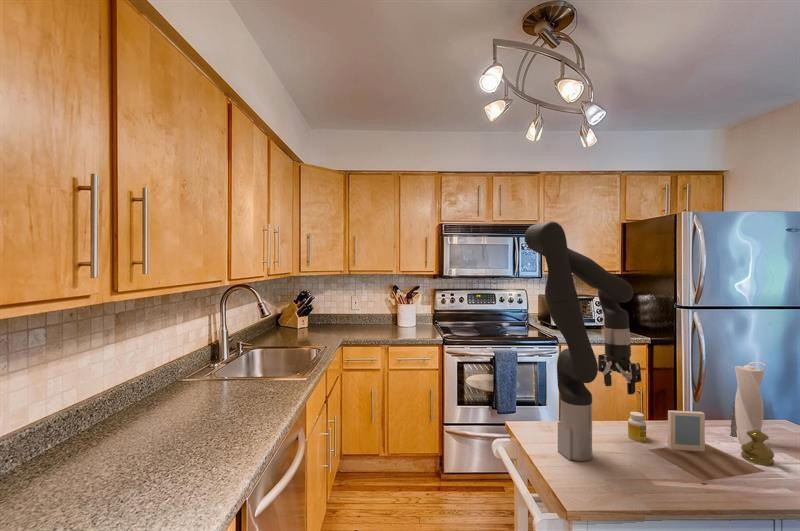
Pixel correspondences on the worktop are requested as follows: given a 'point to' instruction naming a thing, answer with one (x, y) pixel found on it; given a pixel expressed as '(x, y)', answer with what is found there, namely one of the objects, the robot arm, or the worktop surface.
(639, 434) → the supplement bottle
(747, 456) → the brass knob
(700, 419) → the tile
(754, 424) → the skyscraper
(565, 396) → the robot arm
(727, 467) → the board
